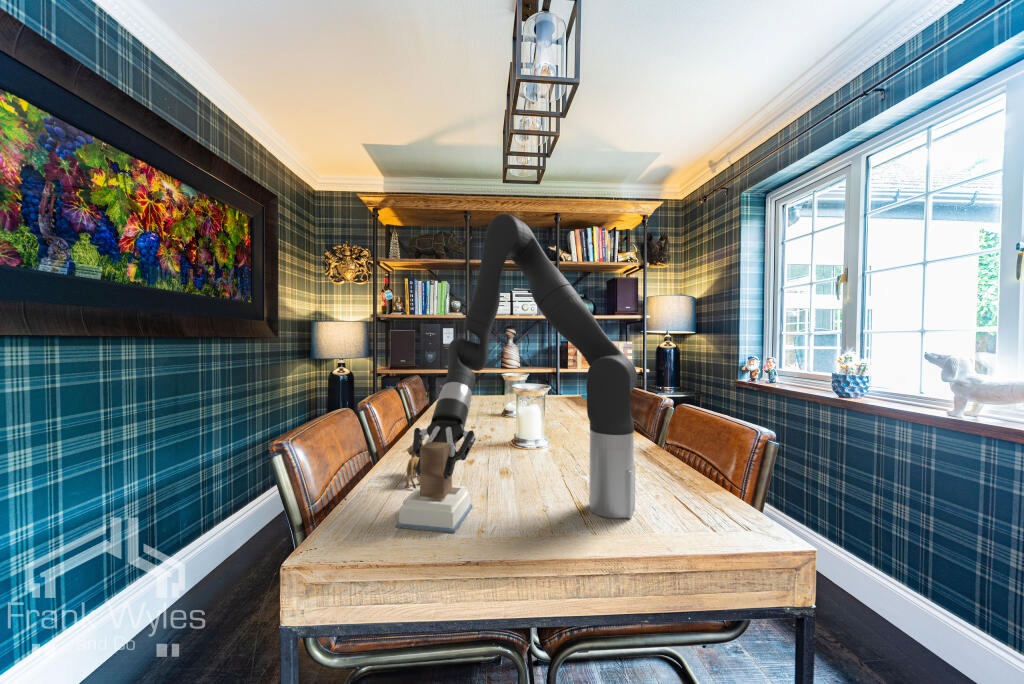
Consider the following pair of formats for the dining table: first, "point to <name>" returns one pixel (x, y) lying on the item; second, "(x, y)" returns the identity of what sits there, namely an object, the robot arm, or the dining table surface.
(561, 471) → the dining table surface
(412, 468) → the lion figurine
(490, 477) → the dining table surface
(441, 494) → the walnut column
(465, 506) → the pedestal base
